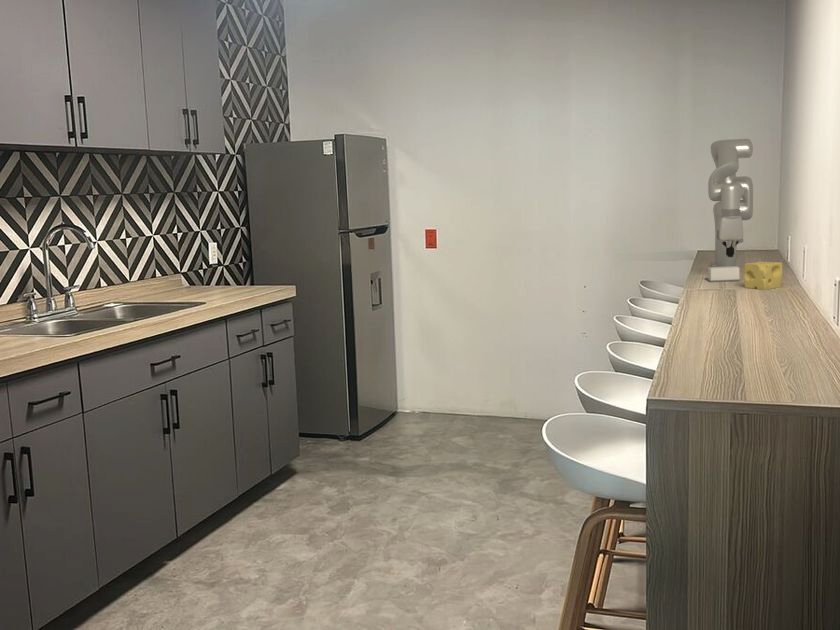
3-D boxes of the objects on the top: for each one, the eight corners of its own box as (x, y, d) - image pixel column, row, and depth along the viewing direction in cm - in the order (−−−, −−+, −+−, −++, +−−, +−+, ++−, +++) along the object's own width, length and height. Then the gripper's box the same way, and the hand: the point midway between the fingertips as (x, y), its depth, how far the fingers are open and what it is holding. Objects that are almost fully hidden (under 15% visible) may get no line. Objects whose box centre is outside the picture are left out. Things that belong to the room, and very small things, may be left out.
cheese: (764, 290, 331) (764, 264, 330) (742, 287, 341) (742, 263, 339) (782, 287, 336) (783, 262, 334) (760, 284, 345) (761, 260, 344)
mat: (704, 279, 370) (704, 278, 369) (733, 278, 368) (733, 277, 368) (710, 282, 360) (710, 281, 360) (739, 281, 358) (739, 280, 358)
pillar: (736, 277, 366) (708, 278, 367) (737, 266, 365) (708, 267, 366) (739, 279, 361) (710, 280, 362) (740, 267, 360) (710, 268, 361)
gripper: (746, 212, 362) (745, 255, 365) (710, 214, 363) (710, 256, 366) (751, 213, 354) (750, 257, 357) (714, 215, 356) (714, 258, 359)
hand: (730, 256), depth 362 cm, fingers closed
